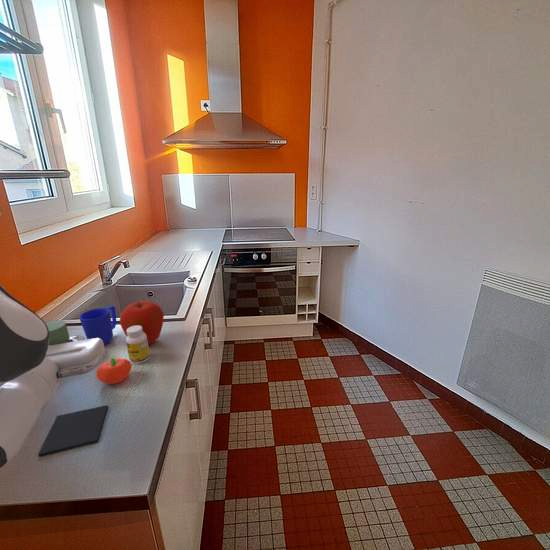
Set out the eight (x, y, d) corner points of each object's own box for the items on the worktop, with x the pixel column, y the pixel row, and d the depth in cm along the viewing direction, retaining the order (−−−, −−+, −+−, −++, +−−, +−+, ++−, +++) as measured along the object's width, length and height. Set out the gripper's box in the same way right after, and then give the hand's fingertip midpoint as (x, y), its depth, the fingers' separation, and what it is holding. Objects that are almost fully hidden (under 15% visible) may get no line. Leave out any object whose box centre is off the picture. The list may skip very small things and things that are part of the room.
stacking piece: (42, 374, 61) (29, 334, 58) (52, 359, 65) (40, 322, 63) (71, 368, 62) (60, 329, 59) (79, 355, 67) (68, 318, 64)
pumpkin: (102, 374, 80) (97, 353, 78) (134, 368, 82) (130, 348, 80) (95, 392, 73) (89, 370, 71) (130, 385, 75) (125, 363, 73)
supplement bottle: (125, 362, 85) (118, 331, 82) (140, 352, 90) (134, 322, 86) (140, 366, 83) (134, 334, 80) (154, 355, 88) (149, 325, 84)
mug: (129, 330, 102) (123, 303, 99) (104, 350, 91) (96, 320, 88) (107, 328, 104) (101, 302, 101) (80, 348, 93) (72, 318, 89)
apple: (128, 358, 87) (119, 314, 82) (122, 340, 96) (113, 299, 92) (171, 344, 93) (165, 302, 88) (162, 329, 103) (155, 290, 98)
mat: (38, 456, 57) (37, 454, 57) (57, 417, 66) (56, 415, 66) (97, 442, 59) (97, 439, 59) (108, 406, 69) (107, 404, 68)
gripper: (92, 353, 52) (108, 319, 65) (-56, 380, 47) (-7, 337, 59) (100, 383, 54) (114, 345, 67) (-41, 412, 49) (4, 364, 61)
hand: (56, 341), depth 63 cm, fingers closed on stacking piece, 5 cm apart
